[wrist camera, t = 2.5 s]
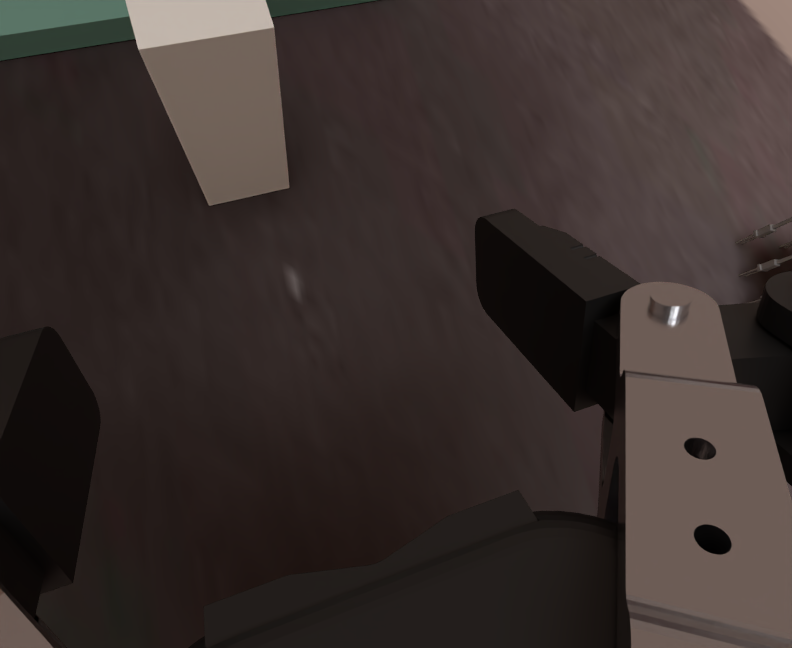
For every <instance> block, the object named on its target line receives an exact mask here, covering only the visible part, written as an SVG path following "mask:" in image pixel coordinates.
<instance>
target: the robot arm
mask: <svg viewBox="0 0 792 648" xmlns="http://www.w3.org/2000/svg"><path fill="white" fill-rule="evenodd" d="M475 250H476V283H477V292H478V296H479V299H480V302H481V304H482V307H483V309H484V310H485V312H486V313H487V314H488V316H489V317H490V318H491V319H492V320H493V321H494V322H495V323H496V325H497V326H498V327H499V328H500V329H501V330H502V331H503V332H504V334H505V335H506V336H507V337H508V338H509V339H510V340H511V341H512V343H513V344H514V345H515V346H516V347H517V348H518V349H519V350H520V352H521V353H522V354H523V355H524V356H525V357H526V358H527V359H528V361H529V362H530V363H531V364H532V365H533V366H534V367H535V368H536V370H537V371H538V372H539V373H540V374H541V375H542V376H543V377H544V379H545V380H546V381H547V382H548V383H549V384H550V385H551V386H552V388H553V389H554V390H555V391H556V392H557V393H558V394H559V395H560V397H561V398H562V399H563V400H564V401H565V402H566V403H567V404H568V406H569V407H570V408H571V409H572V410H573V411H574V412H575V411H578V410H581V409H584V408H587V407H590V406H593V405H596V404H599V405H600V406H601V407H602V408H603V409H604V413H603V420H602V432H601V454H600V476H599V498H598V513H597V517H595V516H590V515H585V514H581V513H573V512H564V511H536V512H532V510H531V509H530V507H529V506H528V504H527V503H526V501H525V500H524V498H523V497H522V495H521V493H520V492H519V490H517V491H514V492H512V493H509V494H506V495H504V496H501V497H498V498H495V499H493V500H490V501H487V502H485V503H482V504H479V505H476V506H474V507H471V508H468V509H466V510H463V511H460V512H458V513H455V514H452V515H449V516H447V517H446V518H444V519H443V520H441V521H440V522H438V523H437V524H435V525H434V526H433V527H431V528H430V529H428V530H427V531H425V532H424V533H422V534H421V535H419V536H418V537H416V538H415V539H413V540H412V541H410V542H409V543H408V544H406V545H405V546H403V547H402V548H400V549H399V550H397V551H396V552H394V553H393V554H391V555H390V556H388V557H387V558H385V559H384V560H382V561H380V562H378V563H376V564H372V565H367V566H359V567H351V568H342V569H334V570H326V571H318V572H310V573H301V574H293V575H287V576H284V577H282V578H279V579H276V580H274V581H271V582H268V583H265V584H263V585H260V586H257V587H255V588H252V589H249V590H247V591H244V592H241V593H238V594H236V595H233V596H230V597H228V598H225V599H222V600H220V601H217V602H214V603H211V604H209V605H206V606H204V629H205V636H204V637H203V638H201V639H200V640H198V641H197V642H195V643H194V644H192V645H191V646H190V647H189V648H792V500H791V496H790V493H789V489H788V486H787V482H788V483H789V484H790V485H791V486H792V271H788V272H783V273H779V274H776V275H774V276H773V277H771V278H770V279H769V280H768V281H767V283H766V285H765V288H764V291H763V294H762V297H761V300H760V302H758V303H745V304H732V305H719V306H718V305H717V303H716V302H715V301H714V300H713V299H712V298H711V297H710V296H708V295H707V294H705V293H704V292H702V291H700V290H698V289H695V288H692V287H690V286H686V285H682V284H677V283H670V282H650V283H643V284H640V283H638V282H637V281H635V280H634V279H633V278H631V277H630V276H628V275H627V274H625V273H624V272H622V271H621V270H619V269H618V268H616V267H615V266H614V265H612V264H611V263H609V262H608V261H606V260H605V259H603V258H602V257H600V256H599V257H597V255H596V253H595V252H593V251H592V250H590V249H589V248H587V247H583V244H582V243H580V242H579V241H577V240H576V239H574V238H573V237H571V236H570V235H568V234H567V233H565V232H561V231H558V230H555V229H552V228H549V227H546V226H539V225H537V224H536V223H534V222H533V221H532V220H530V219H529V218H527V217H526V216H525V215H523V214H522V213H520V212H519V211H518V210H516V209H511V210H507V211H503V212H499V213H495V214H491V215H487V216H483V217H480V218H478V220H477V222H476V225H475ZM99 430H100V412H99V407H98V404H97V401H96V398H95V396H94V393H93V392H92V390H91V388H90V386H89V385H88V383H87V381H86V380H85V378H84V376H83V374H82V373H81V371H80V369H79V368H78V366H77V364H76V363H75V361H74V359H73V357H72V356H71V354H70V352H69V351H68V349H67V347H66V346H65V344H64V342H63V341H62V339H61V337H60V336H59V334H58V333H57V332H56V331H55V330H54V329H53V328H51V327H43V328H39V329H35V330H31V331H27V332H23V333H19V334H15V335H12V336H8V337H4V338H0V648H67V647H66V646H65V645H64V644H63V642H62V641H61V640H60V639H59V638H58V637H57V636H56V635H55V634H54V633H53V632H52V631H51V629H50V628H49V627H48V626H47V625H46V624H45V623H44V622H43V621H42V620H41V619H40V618H39V617H38V616H37V615H36V609H37V605H38V600H39V596H40V594H42V593H45V592H48V591H51V590H54V589H57V588H60V587H63V586H66V585H69V584H71V583H73V580H74V574H75V568H76V562H77V557H78V551H79V545H80V539H81V534H82V528H83V522H84V516H85V511H86V505H87V499H88V493H89V488H90V482H91V476H92V470H93V465H94V459H95V453H96V447H97V442H98V436H99ZM786 481H787V482H786Z"/></svg>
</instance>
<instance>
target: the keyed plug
mask: <svg viewBox="0 0 792 648" xmlns="http://www.w3.org/2000/svg"><path fill="white" fill-rule="evenodd" d="M125 1H126V5H127V9H128V12H129V16H130V20H131V24H132V27H133V31H134V35H135V39H136V42H137V46H138V50H139V52H140V54H141V56H142V59H143V61H144V63H145V65H146V68H147V70H148V72H149V74H150V76H151V79H152V81H153V83H154V85H155V87H156V90H157V92H158V94H159V96H160V98H161V101H162V103H163V105H164V107H165V109H166V112H167V114H168V116H169V118H170V121H171V123H172V125H173V127H174V129H175V132H176V134H177V136H178V138H179V140H180V143H181V145H182V147H183V149H184V151H185V154H186V156H187V158H188V160H189V163H190V165H191V167H192V169H193V171H194V174H195V176H196V178H197V180H198V182H199V185H200V187H201V189H202V191H203V193H204V196H205V198H206V200H207V202H208V204H209V206H211V205H216V204H220V203H224V202H229V201H233V200H238V199H242V198H247V197H251V196H256V195H260V194H265V193H269V192H273V191H278V190H282V189H287V188H290V187H289V176H288V166H287V156H286V145H285V135H284V125H283V114H282V104H281V93H280V83H279V73H278V62H277V52H276V42H275V31H274V26H273V22H272V19H271V16H270V13H269V10H268V6H267V3H266V0H125Z"/></svg>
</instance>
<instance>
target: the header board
mask: <svg viewBox="0 0 792 648" xmlns="http://www.w3.org/2000/svg"><path fill="white" fill-rule="evenodd" d="M370 1H377V0H266V3H267V6H268V10H269V13H270V16H271V17H276V16H283V15H289V14H295V13H302V12H308V11H314V10H320V9H327V8H333V7H339V6H345V5H352V4H358V3H364V2H370ZM132 39H135V35H134V31H133V27H132V24H131V20H130V16H129V12H128V9H127V5H126V1H125V0H0V61H1V60H7V59H13V58H20V57H26V56H32V55H38V54H45V53H51V52H57V51H63V50H70V49H76V48H82V47H89V46H95V45H101V44H107V43H114V42H120V41H126V40H132Z"/></svg>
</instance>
